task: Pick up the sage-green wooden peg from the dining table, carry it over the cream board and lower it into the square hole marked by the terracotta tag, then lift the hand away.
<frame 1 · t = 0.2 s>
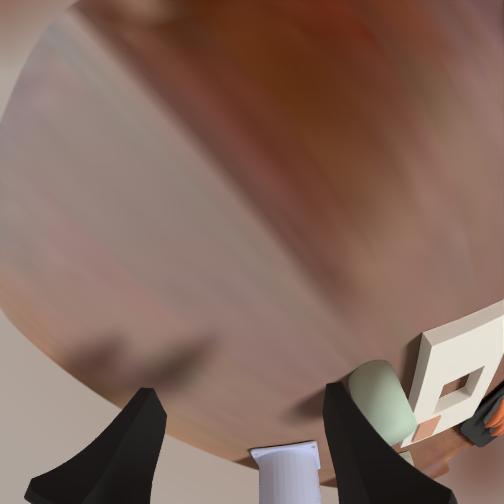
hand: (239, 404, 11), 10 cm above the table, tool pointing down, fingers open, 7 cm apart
hole board: (452, 380, 24), on the table
peg: (370, 376, 23), on the table
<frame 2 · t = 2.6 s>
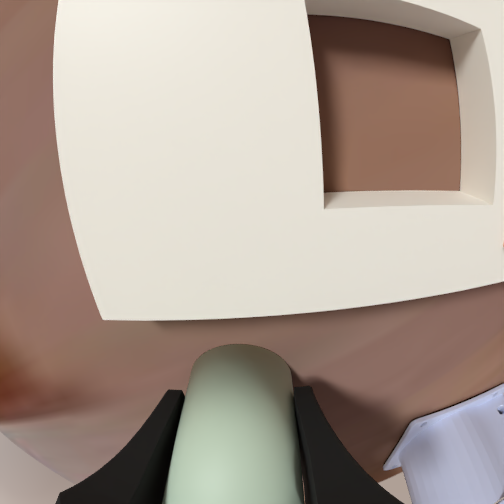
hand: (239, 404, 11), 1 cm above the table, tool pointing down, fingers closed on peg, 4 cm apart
hole board: (393, 102, 7), on the table
peg: (241, 380, 12), on the table, touching gripper
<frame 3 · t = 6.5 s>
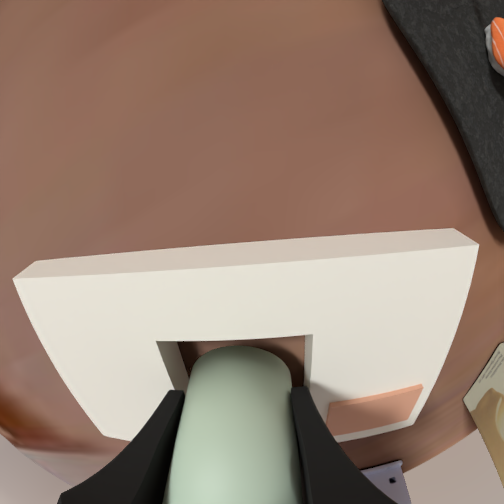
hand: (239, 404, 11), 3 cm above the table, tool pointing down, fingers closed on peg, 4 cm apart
hole board: (242, 360, 13), on the table
peg: (240, 381, 12), point 1 cm above the table, touching gripper
skincare box: (492, 368, 15), on the table
when the fingers open (3 cm above the table, at t = 6.9 s): peg drops 1 cm, resting in hole board.
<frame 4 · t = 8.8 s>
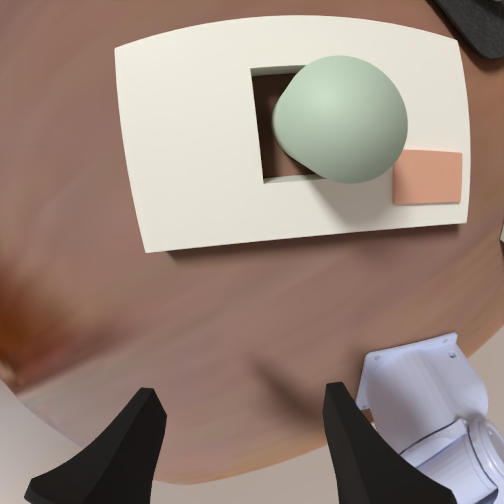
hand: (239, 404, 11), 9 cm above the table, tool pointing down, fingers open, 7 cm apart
hole board: (310, 122, 15), on the table
peg: (310, 123, 15), resting in hole board
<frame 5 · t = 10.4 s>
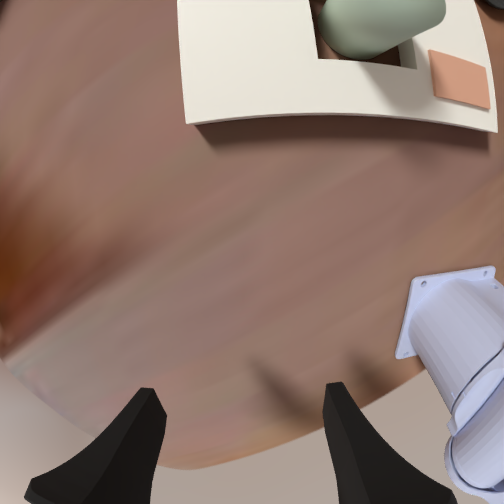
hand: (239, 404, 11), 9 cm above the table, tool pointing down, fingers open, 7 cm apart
hole board: (352, 27, 12), on the table
peg: (353, 28, 12), resting in hole board
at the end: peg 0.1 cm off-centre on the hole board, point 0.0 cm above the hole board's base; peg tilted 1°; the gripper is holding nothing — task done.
